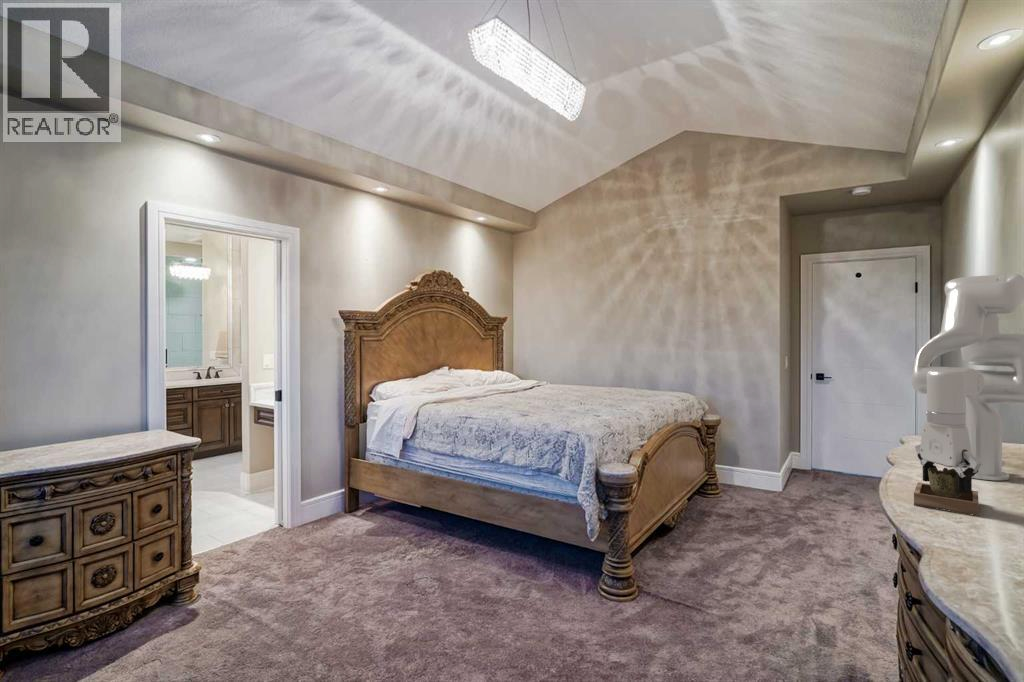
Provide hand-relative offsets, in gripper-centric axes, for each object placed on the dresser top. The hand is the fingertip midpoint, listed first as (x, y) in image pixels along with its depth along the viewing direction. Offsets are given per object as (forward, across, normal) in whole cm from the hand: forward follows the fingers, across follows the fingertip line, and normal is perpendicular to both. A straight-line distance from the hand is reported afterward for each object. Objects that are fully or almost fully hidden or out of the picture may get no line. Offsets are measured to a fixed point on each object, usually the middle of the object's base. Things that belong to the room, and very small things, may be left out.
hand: (946, 486), depth 129 cm
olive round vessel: (+4, 0, 0) cm, 4 cm away
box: (+4, 0, 0) cm, 4 cm away
